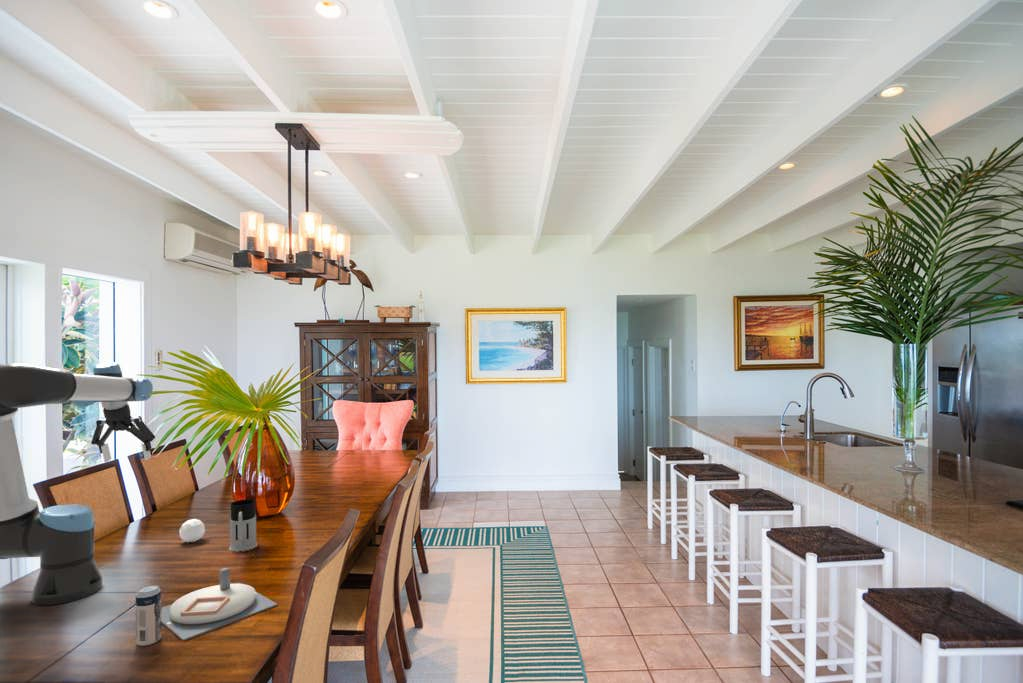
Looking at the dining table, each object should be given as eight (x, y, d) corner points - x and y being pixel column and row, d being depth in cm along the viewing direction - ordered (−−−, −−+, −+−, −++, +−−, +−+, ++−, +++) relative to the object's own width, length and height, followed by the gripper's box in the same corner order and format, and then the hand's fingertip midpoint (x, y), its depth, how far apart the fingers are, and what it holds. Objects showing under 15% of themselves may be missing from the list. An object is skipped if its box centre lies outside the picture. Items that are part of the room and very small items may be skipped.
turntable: (237, 621, 132) (237, 593, 132) (154, 626, 130) (153, 598, 130) (266, 587, 151) (265, 563, 151) (193, 591, 149) (193, 567, 149)
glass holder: (258, 541, 191) (258, 497, 192) (255, 555, 178) (254, 508, 178) (230, 544, 188) (230, 500, 189) (224, 559, 175) (224, 511, 175)
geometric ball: (191, 551, 191) (181, 537, 186) (181, 539, 195) (171, 525, 190) (212, 535, 195) (203, 521, 190) (202, 524, 200) (192, 510, 195)
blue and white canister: (164, 641, 125) (163, 587, 125) (139, 650, 122) (139, 595, 122) (157, 634, 128) (156, 582, 129) (133, 642, 125) (132, 589, 125)
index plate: (183, 641, 125) (183, 637, 125) (149, 613, 139) (149, 609, 139) (277, 605, 142) (277, 602, 142) (239, 583, 156) (239, 580, 156)
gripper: (158, 399, 199) (169, 452, 205) (84, 402, 196) (97, 456, 202) (147, 408, 191) (159, 462, 198) (70, 411, 189) (84, 466, 195)
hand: (128, 459), depth 200 cm, fingers open, 13 cm apart
